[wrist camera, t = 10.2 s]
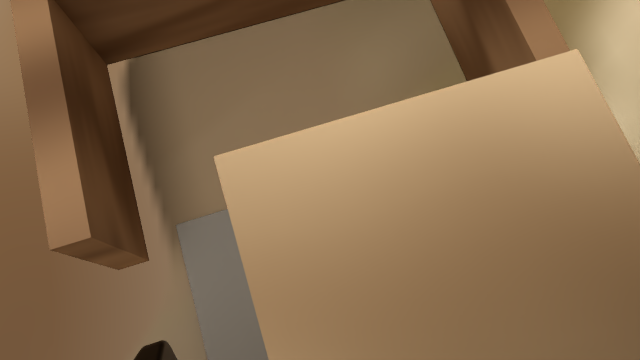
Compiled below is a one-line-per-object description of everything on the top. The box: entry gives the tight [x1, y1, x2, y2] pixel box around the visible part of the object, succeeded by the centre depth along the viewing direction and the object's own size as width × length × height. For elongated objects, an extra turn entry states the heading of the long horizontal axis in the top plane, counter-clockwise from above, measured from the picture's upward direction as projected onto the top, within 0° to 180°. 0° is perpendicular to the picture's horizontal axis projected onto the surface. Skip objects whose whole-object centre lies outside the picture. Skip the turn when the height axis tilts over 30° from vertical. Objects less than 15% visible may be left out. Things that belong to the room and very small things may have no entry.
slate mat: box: [176, 209, 269, 360], centre depth 18 cm, size 11×12×1 cm
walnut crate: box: [10, 0, 570, 270], centre depth 19 cm, size 10×17×5 cm, turn 108°
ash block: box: [214, 49, 640, 360], centre depth 12 cm, size 5×5×13 cm
